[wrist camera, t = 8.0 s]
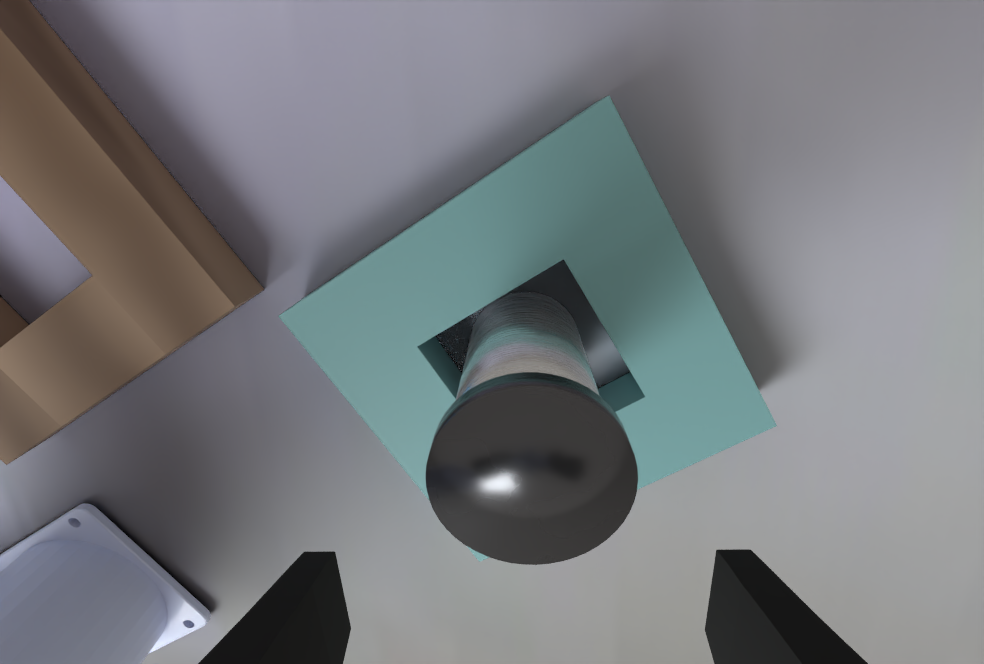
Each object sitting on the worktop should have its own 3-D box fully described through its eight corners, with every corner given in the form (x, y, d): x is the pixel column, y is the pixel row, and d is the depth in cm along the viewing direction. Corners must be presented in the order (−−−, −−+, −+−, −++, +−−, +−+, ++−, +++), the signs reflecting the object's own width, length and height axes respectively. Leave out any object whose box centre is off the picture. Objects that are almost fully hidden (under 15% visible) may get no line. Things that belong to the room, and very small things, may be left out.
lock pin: (508, 418, 19) (503, 592, 12) (437, 328, 18) (382, 458, 11) (610, 359, 18) (676, 508, 11) (543, 258, 17) (564, 348, 10)
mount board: (52, 435, 21) (6, 465, 19) (-218, 182, 17) (-307, 187, 15) (264, 289, 18) (235, 306, 16) (-9, -46, 15) (-86, -73, 13)
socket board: (482, 524, 21) (479, 561, 19) (303, 297, 18) (278, 316, 16) (750, 397, 19) (776, 425, 17) (597, 101, 15) (609, 95, 13)
